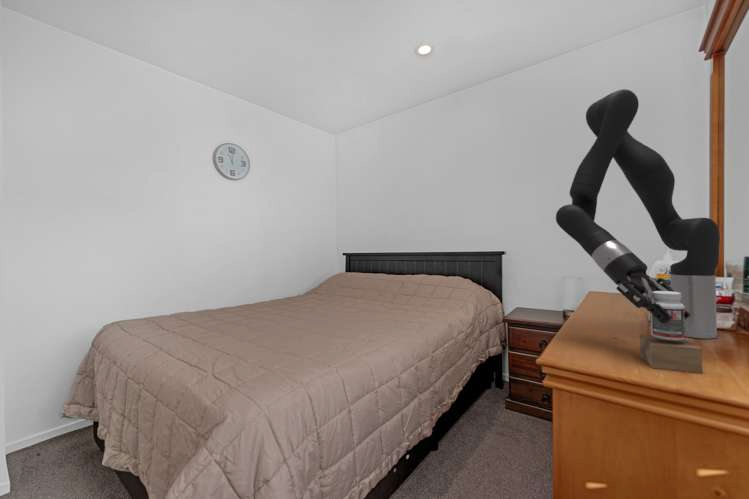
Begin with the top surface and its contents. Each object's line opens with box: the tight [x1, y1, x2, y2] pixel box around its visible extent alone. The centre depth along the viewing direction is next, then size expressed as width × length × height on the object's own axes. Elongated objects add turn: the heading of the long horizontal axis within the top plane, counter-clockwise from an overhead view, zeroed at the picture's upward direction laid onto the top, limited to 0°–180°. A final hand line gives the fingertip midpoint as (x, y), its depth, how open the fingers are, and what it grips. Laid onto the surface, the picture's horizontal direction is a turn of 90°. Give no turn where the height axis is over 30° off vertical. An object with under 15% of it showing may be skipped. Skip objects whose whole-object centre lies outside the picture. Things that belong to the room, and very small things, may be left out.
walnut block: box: [639, 334, 703, 374], centre depth 71 cm, size 8×8×5 cm
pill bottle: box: [649, 291, 686, 341], centre depth 71 cm, size 6×6×10 cm
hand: (676, 319), depth 69 cm, fingers closed on pill bottle, 5 cm apart
